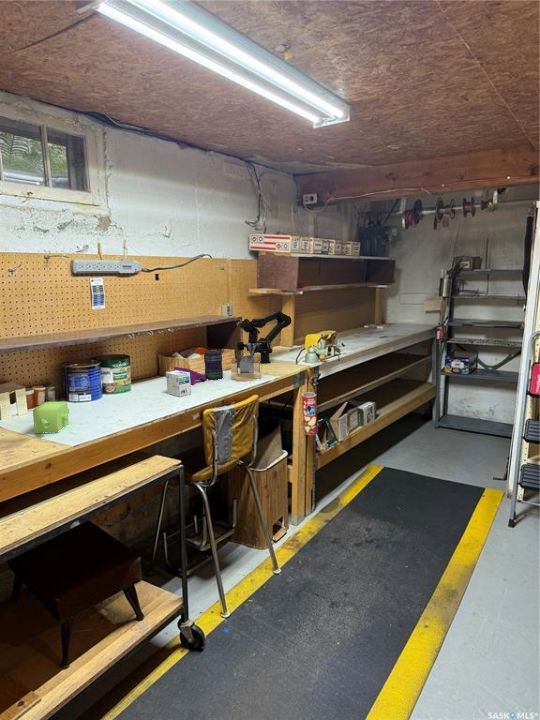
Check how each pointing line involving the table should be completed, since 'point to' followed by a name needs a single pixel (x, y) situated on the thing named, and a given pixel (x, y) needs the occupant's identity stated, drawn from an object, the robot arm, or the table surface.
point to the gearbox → (50, 417)
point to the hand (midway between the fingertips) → (251, 357)
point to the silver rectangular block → (247, 364)
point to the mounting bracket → (191, 374)
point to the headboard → (245, 376)
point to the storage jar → (213, 364)
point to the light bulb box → (178, 383)
